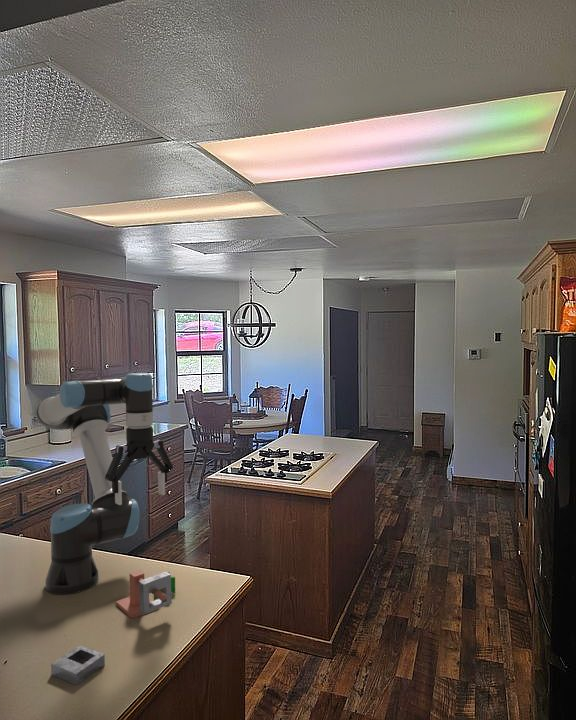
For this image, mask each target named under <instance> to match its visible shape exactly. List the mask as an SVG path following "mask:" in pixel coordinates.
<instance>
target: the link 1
mask: <svg viewBox="0 0 576 720" xmlns="http://www.w3.org/2000/svg"><path fill="white" fill-rule="evenodd" d="M105 658H106V657H105V654H104V653H102V652H99V651H97V650H94V649H92V648H90V647H86V646H83V645H81V644H80V645H78V646H77V647H74V648H73V649H72V650H71V651H68V652H67V653H66V654H63V656H61V657H59V658H57V660H54V661H53V662H51V664H50V672H51V673H50V674H51V676H53V677H56V678H58V679H61V680H63V681H65V682H68V683H71V684H72V685H75V686H78V685H79V684H81V683H82V682H83V681H85V680H86V679H88V678H89V677H90V676H92V675H93V674H94V673H95V672H97V671H99V670H100V669H101V668H102V667H104V666H105V664H106V662H105V661H106V659H105ZM80 661H83V662H84V663H83V664H82V663H80Z"/></svg>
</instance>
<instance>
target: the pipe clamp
mask: <svg viewBox="0 0 576 720" xmlns="http://www.w3.org/2000/svg"><path fill="white" fill-rule="evenodd" d="M167 572H168V573H169V574H171V572H169V571H167ZM160 591H161V592H162V589H160ZM172 593H176V576H171V594H172ZM157 599H159V598H158V597H156V596H155V595H154V594H153V601H155V600H157Z"/></svg>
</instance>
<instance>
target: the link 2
mask: <svg viewBox="0 0 576 720" xmlns="http://www.w3.org/2000/svg"><path fill="white" fill-rule="evenodd" d="M168 572H169V571H164V572H160V573H157V574H155V575H152V576H150V577H146V578H144V580H141V581H139V600H140V611H141V612H142V613H143V615H147V614H150V613H152V612H155V611H157V610H159V609H161V608H164V607H166V606H168V605H172V599H173V598H172V593H171V577H172V575H171V573H170V574H169V573H168ZM160 589H162V593H164V594H166V596H167V597H166V599H165V600H164V601H161V600H160V599H157V600H155V601H154V600H153V601H152V602H150V603H149V598H150V594H152V592H155V591H158V590H160Z"/></svg>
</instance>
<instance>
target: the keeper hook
mask: <svg viewBox="0 0 576 720" xmlns="http://www.w3.org/2000/svg"><path fill="white" fill-rule="evenodd" d="M128 574H129V596H126V597H125V598H121V599H119V600H116V601H115V605H116V607H118V608H119V609H120V610H121V611H122V612H124V613H125V614H126V615H127V616H128V617H130V618H131V619H135V618H138V617H140V616H143V615H144V614H143V613H142V612H141V611H140V600H139V581H141V580H144V579H145V573H144V572H143V571H141V569H138V570H135V571H133V572H129V573H128ZM151 594H153V596H154V595H155V596H156V597H158V598H159V599H160V600H161V601H164V600H165V599H166V597H167V596H166V594H164V593H162V592H161V591H160V590H158V591H155V592H152V593H151ZM152 601H154V599H152V598H151V597H149V603H150V602H152Z"/></svg>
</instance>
